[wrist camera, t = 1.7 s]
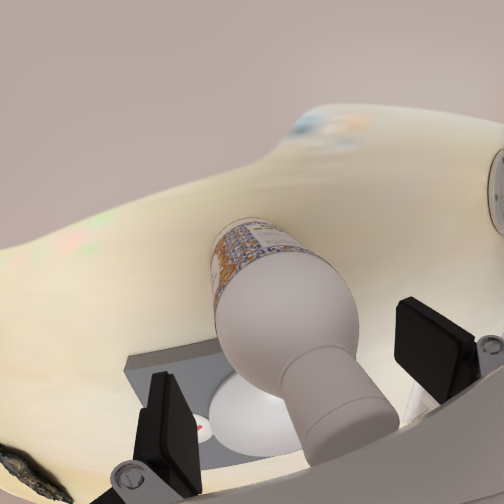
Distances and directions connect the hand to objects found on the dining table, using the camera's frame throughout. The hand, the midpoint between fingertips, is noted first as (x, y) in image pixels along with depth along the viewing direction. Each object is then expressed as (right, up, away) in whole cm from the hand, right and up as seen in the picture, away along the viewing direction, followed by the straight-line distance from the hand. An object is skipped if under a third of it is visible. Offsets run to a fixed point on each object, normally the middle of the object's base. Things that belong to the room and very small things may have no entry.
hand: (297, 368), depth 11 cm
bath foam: (-2, +4, +15) cm, 16 cm away
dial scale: (-2, -12, +19) cm, 22 cm away
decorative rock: (-43, -37, +20) cm, 60 cm away
